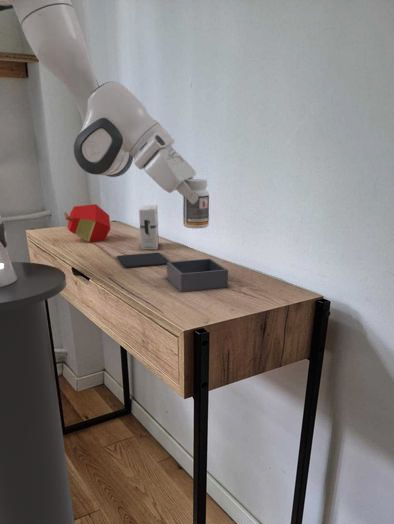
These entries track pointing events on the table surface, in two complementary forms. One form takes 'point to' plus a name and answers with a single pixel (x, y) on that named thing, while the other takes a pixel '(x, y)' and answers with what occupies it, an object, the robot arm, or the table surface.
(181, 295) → the table surface
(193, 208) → the pill bottle
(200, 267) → the open box
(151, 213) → the ink box
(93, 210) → the apple
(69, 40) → the robot arm
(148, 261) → the mat
